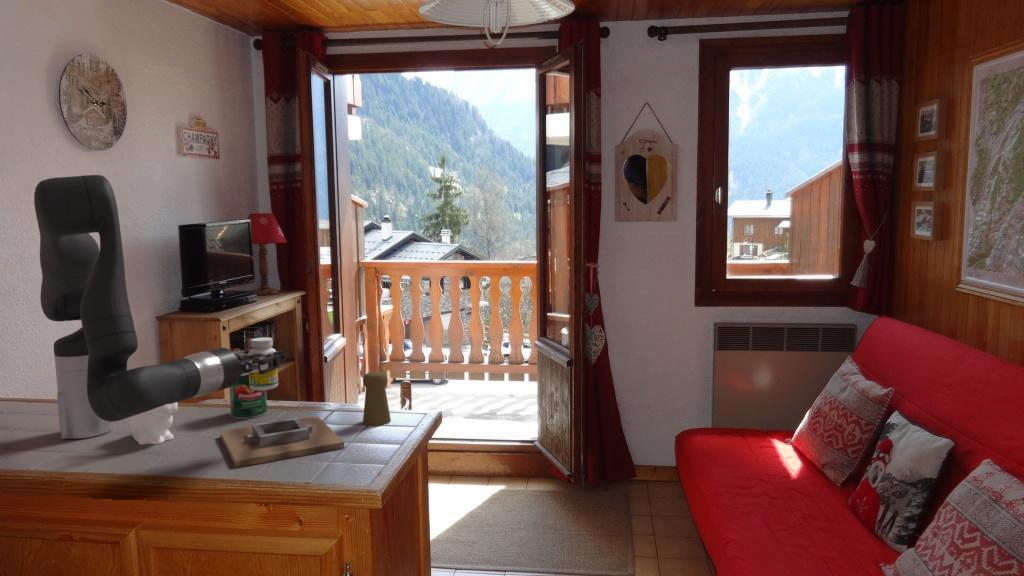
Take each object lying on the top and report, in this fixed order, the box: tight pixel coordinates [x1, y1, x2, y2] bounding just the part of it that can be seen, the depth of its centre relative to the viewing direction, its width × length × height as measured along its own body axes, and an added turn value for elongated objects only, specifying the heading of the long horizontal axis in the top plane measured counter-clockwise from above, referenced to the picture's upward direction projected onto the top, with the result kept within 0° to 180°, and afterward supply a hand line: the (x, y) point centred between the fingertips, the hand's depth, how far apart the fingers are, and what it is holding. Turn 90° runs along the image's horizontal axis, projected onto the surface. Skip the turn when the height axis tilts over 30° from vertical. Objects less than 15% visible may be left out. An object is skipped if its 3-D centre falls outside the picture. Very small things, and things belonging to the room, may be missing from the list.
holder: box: [219, 415, 345, 468], centre depth 145 cm, size 20×20×3 cm
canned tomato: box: [228, 374, 268, 420], centre depth 165 cm, size 8×8×11 cm
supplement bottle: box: [248, 337, 279, 391], centre depth 142 cm, size 5×5×10 cm
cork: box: [362, 371, 392, 427], centre depth 158 cm, size 6×6×11 cm
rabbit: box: [128, 402, 179, 446], centre depth 147 cm, size 12×9×12 cm
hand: (271, 354), depth 144 cm, fingers closed on supplement bottle, 5 cm apart
